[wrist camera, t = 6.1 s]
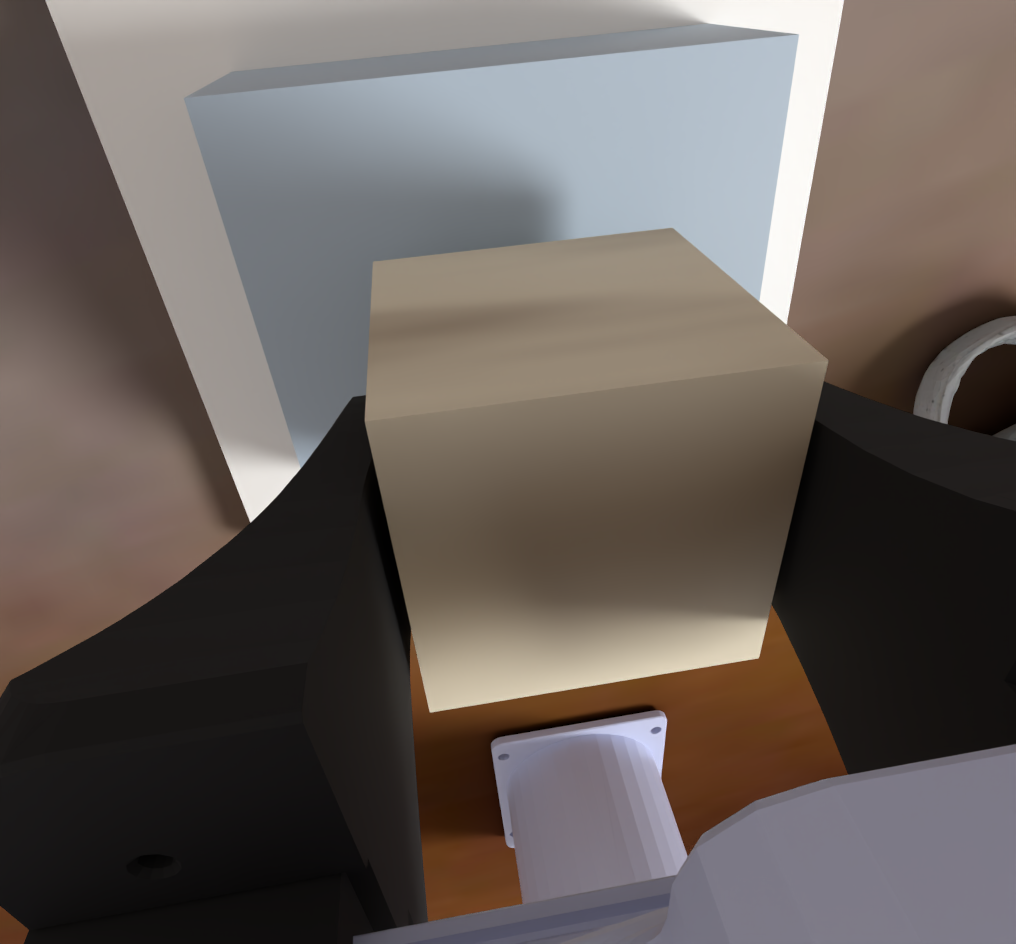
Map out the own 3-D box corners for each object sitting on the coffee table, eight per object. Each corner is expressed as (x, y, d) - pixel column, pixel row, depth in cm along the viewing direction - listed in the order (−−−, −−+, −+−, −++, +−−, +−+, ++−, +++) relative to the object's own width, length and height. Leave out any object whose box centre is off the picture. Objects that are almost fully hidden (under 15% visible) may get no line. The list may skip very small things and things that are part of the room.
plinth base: (742, 465, 23) (819, 570, 19) (270, 535, 22) (243, 663, 18) (842, -169, 14) (1037, -236, 10) (31, -102, 13) (-143, -145, 9)
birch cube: (654, 469, 14) (758, 658, 10) (417, 502, 14) (429, 712, 10) (672, 227, 11) (829, 360, 7) (373, 261, 11) (364, 421, 7)
